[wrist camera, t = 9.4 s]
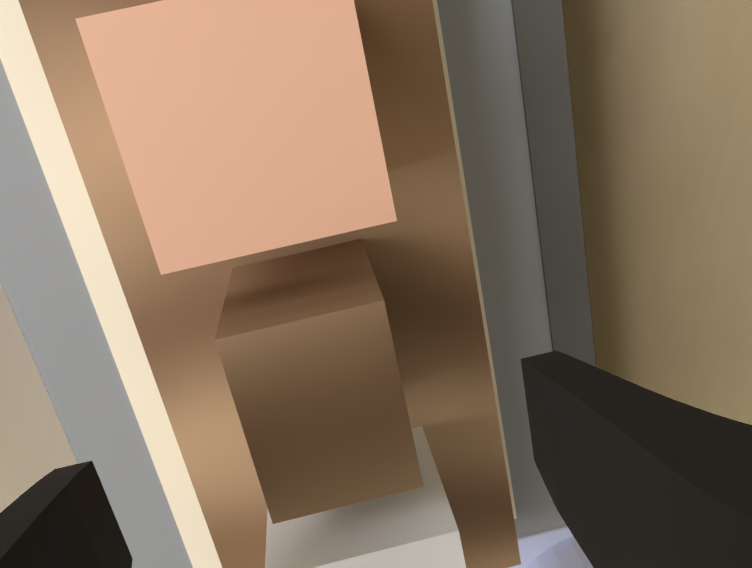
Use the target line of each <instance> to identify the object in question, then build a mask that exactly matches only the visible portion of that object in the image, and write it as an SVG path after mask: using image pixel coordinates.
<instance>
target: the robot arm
mask: <svg viewBox="0 0 752 568" xmlns="http://www.w3.org/2000/svg"><path fill="white" fill-rule="evenodd" d="M521 366H522V373H523V381H524V388H525V396H526V403H527V411H528V418H529V425H530V433H531V440H532V448H533V455H534V461H535V463H536V466H537V468H538V470H539V472H540V474H541V477H542V479H543V481H544V483H545V485H546V488H547V490H548V492H549V494H550V496H551V498H552V500H553V502H554V504H555V506H556V509H557V511H558V512H559V514H560V515H561V517H562V519H563V520H564V523H560V524H556V525H552V526H548V527H544V528H540V529H536V530H532V531H528V532H524V533H520V534H516V535H517V541H518V547H519V554H520V560H521V564H520V565H516V566H512V567H508V568H752V425H749V424H745V423H742V422H738V421H734V420H731V419H728V418H725V417H722V416H718V415H715V414H712V413H709V412H707V411H704V410H701V409H698V408H695V407H692V406H690V405H687V404H684V403H681V402H678V401H676V400H673V399H670V398H668V397H665V396H663V395H660V394H658V393H655V392H653V391H650V390H648V389H645V388H643V387H640V386H638V385H636V384H633V383H631V382H629V381H626V380H624V379H622V378H619V377H617V376H615V375H612V374H610V373H608V372H606V371H603V370H601V369H599V368H597V367H594V366H592V365H590V364H588V363H585V362H583V361H581V360H579V359H576V358H574V357H572V356H569V355H567V354H564V353H561V352H559V351H552V352H548V353H543V354H539V355H535V356H531V357H526V358H522V359H521ZM132 560H133V559H132V556H131V554H130V551H129V549H128V546H127V544H126V542H125V539H124V537H123V534H122V532H121V529H120V527H119V525H118V522H117V520H116V517H115V515H114V512H113V510H112V508H111V505H110V503H109V500H108V498H107V495H106V493H105V491H104V488H103V486H102V483H101V481H100V478H99V476H98V474H97V471H96V469H95V466H94V464H93V461H88V462H84V463H80V464H75V465H71V466H67V467H63V468H58V469H55V470H53V471H52V472H50V473H49V474H47V475H46V476H45V477H43V478H42V479H41V480H39V481H38V482H37V483H35V484H34V485H33V486H32V487H30V488H29V489H28V490H27V491H26V492H24V493H23V494H22V495H21V496H20V497H19V498H17V499H16V500H15V501H14V502H13V503H12V504H10V505H9V506H8V507H7V508H6V509H5V510H3V511H2V512H1V513H0V568H132Z"/></svg>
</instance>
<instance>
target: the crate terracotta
mask: <svg viewBox="0 0 752 568" xmlns="http://www.w3.org/2000/svg"><path fill="white" fill-rule="evenodd" d="M75 20H76V23H77V26H78V29H79V32H80V34H81V37H82V40H83V43H84V46H85V49H86V52H87V55H88V58H89V61H90V64H91V67H92V70H93V73H94V76H95V79H96V82H97V85H98V88H99V91H100V94H101V97H102V100H103V103H104V106H105V109H106V112H107V115H108V118H109V121H110V124H111V127H112V130H113V133H114V136H115V139H116V142H117V145H118V148H119V151H120V154H121V157H122V160H123V163H124V166H125V169H126V172H127V175H128V178H129V181H130V184H131V187H132V190H133V193H134V196H135V199H136V202H137V205H138V208H139V211H140V214H141V217H142V220H143V223H144V226H145V229H146V232H147V235H148V238H149V241H150V244H151V247H152V250H153V253H154V256H155V259H156V262H157V265H158V268H159V271H160V274H161V275H162V274H167V273H171V272H176V271H180V270H184V269H189V268H193V267H197V266H202V265H206V264H211V263H215V262H219V261H224V260H228V259H232V258H237V257H241V256H246V255H250V254H254V253H259V252H263V251H267V250H272V249H276V248H281V247H285V246H289V245H294V244H298V243H302V242H307V241H311V240H315V239H320V238H324V237H329V236H333V235H337V234H342V233H346V232H350V231H355V230H359V229H364V228H368V227H372V226H377V225H381V224H385V223H390V222H394V221H397V218H396V213H395V208H394V203H393V198H392V193H391V188H390V183H389V177H388V172H387V167H386V162H385V157H384V152H383V147H382V142H381V137H380V131H379V126H378V121H377V116H376V111H375V106H374V101H373V96H372V90H371V85H370V80H369V75H368V70H367V65H366V60H365V55H364V50H363V44H362V39H361V34H360V29H359V24H358V19H357V14H356V9H355V4H354V0H162V1H158V2H153V3H148V4H143V5H138V6H134V7H129V8H124V9H119V10H115V11H110V12H105V13H100V14H95V15H91V16H86V17H81V18H76V19H75Z"/></svg>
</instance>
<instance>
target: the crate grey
mask: <svg viewBox="0 0 752 568" xmlns="http://www.w3.org/2000/svg"><path fill="white" fill-rule="evenodd" d="M411 429H412V434H413V439H414V443H415V448H416V453H417V457H418V462H419V467H420V472H421V476H422V481H423V486H424V487H420V488H416V489H412V490H408V491H404V492H400V493H396V494H392V495H388V496H384V497H380V498H376V499H372V500H368V501H364V502H360V503H356V504H352V505H348V506H344V507H340V508H336V509H332V510H328V511H324V512H320V513H316V514H312V515H308V516H304V517H299V518H295V519H291V520H287V521H283V522H279V523H275V524H273V523H272V520H271V517H270V514H269V511H268V509H267V532H266V554H265V568H466V565H465V559H464V554H463V549H462V544H461V539H460V534H459V530H458V527H457V524H456V521H455V518H454V516H453V513H452V510H451V507H450V504H449V501H448V499H447V496H446V493H445V490H444V487H443V484H442V481H441V479H440V476H439V473H438V470H437V467H436V464H435V462H434V459H433V456H432V453H431V450H430V447H429V445H428V442H427V439H426V436H425V433H424V430H423V428H422V426H419V427H415V428H411Z"/></svg>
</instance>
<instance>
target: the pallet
mask: <svg viewBox="0 0 752 568" xmlns="http://www.w3.org/2000/svg"><path fill="white" fill-rule="evenodd" d="M18 1H19V4H20V6H21V9H22V12H23V15H24V17H25V20H26V23H27V26H28V29H29V31H30V34H31V37H32V40H33V42H34V45H35V48H36V51H37V54H38V56H39V59H40V62H41V65H42V67H43V70H44V73H45V76H46V79H47V81H48V84H49V87H50V90H51V92H52V95H53V98H54V101H55V104H56V106H57V109H58V112H59V115H60V118H61V120H62V123H63V126H64V129H65V131H66V134H67V137H68V140H69V143H70V145H71V148H72V151H73V154H74V156H75V159H76V162H77V165H78V168H79V170H80V173H81V176H82V179H83V181H84V184H85V187H86V190H87V193H88V195H89V198H90V201H91V204H92V206H93V209H94V212H95V215H96V218H97V220H98V223H99V226H100V229H101V232H102V234H103V237H104V240H105V243H106V245H107V248H108V251H109V254H110V257H111V259H112V262H113V265H114V268H115V270H116V273H117V276H118V279H119V282H120V284H121V287H122V290H123V293H124V295H125V298H126V301H127V304H128V307H129V309H130V312H131V315H132V318H133V320H134V323H135V326H136V329H137V332H138V334H139V337H140V340H141V343H142V345H143V348H144V351H145V354H146V357H147V359H148V362H149V365H150V368H151V371H152V373H153V376H154V379H155V382H156V384H157V387H158V390H159V393H160V396H161V398H162V401H163V404H164V407H165V409H166V412H167V415H168V418H169V421H170V423H171V426H172V429H173V432H174V434H175V437H176V440H177V443H178V446H179V448H180V451H181V454H182V457H183V459H184V462H185V465H186V468H187V471H188V473H189V476H190V479H191V482H192V485H193V487H194V490H195V493H196V496H197V498H198V501H199V504H200V507H201V510H202V512H203V515H204V518H205V521H206V523H207V526H208V529H209V532H210V535H211V537H212V540H213V543H214V546H215V548H216V551H217V554H218V557H219V560H220V562H221V565H222V568H265V554H266V532H267V509H268V511H269V514H270V517H271V520H272V523H273V524H275V523H279V522H283V521H287V520H291V519H295V518H299V517H304V516H308V515H312V514H316V513H320V512H324V511H328V510H332V509H336V508H340V507H344V506H348V505H352V504H356V503H360V502H364V501H368V500H372V499H376V498H380V497H384V496H388V495H392V494H396V493H400V492H404V491H408V490H412V489H416V488H420V487H424V486H423V481H422V476H421V472H420V467H419V462H418V457H417V453H416V448H415V443H414V439H413V434H412V429H411V428H415V427H419V426H422V428H423V430H424V433H425V436H426V439H427V442H428V445H429V447H430V450H431V453H432V456H433V459H434V462H435V464H436V467H437V470H438V473H439V476H440V479H441V481H442V484H443V487H444V490H445V493H446V496H447V499H448V501H449V504H450V507H451V510H452V513H453V516H454V518H455V521H456V524H457V527H458V530H459V534H460V539H461V544H462V549H463V554H464V559H465V565H466V568H508V567H512V566H516V565H520V564H521V560H520V554H519V547H518V541H517V535H516V528H515V522H514V516H513V509H512V503H511V496H510V490H509V484H508V477H507V471H506V465H505V458H504V452H503V446H502V439H501V433H500V427H499V420H498V414H497V408H496V401H495V395H494V389H493V382H492V376H491V369H490V363H489V357H488V350H487V344H486V338H485V331H484V325H483V319H482V312H481V306H480V300H479V293H478V287H477V281H476V274H475V268H474V261H473V255H472V249H471V242H470V236H469V230H468V223H467V217H466V211H465V204H464V198H463V192H462V185H461V179H460V173H459V166H458V160H457V154H456V147H455V141H454V134H453V128H452V122H451V115H450V109H449V103H448V96H447V90H446V84H445V77H444V71H443V65H442V58H441V52H440V46H439V39H438V33H437V27H436V20H435V14H434V7H433V1H432V0H354V4H355V9H356V14H357V19H358V24H359V29H360V34H361V39H362V44H363V50H364V55H365V60H366V65H367V70H368V75H369V80H370V85H371V90H372V96H373V101H374V106H375V111H376V116H377V121H378V126H379V131H380V137H381V142H382V147H383V152H384V157H385V162H386V167H387V172H388V177H389V183H390V188H391V193H392V198H393V203H394V208H395V213H396V218H397V221H394V222H390V223H385V224H381V225H377V226H372V227H368V228H364V229H359V230H355V231H350V232H346V233H342V234H337V235H333V236H329V237H324V238H320V239H315V240H311V241H307V242H302V243H298V244H294V245H289V246H285V247H281V248H276V249H272V250H267V251H263V252H259V253H254V254H250V255H246V256H241V257H237V258H232V259H228V260H224V261H219V262H215V263H211V264H206V265H202V266H197V267H193V268H189V269H184V270H180V271H176V272H171V273H167V274H162V275H161V274H160V271H159V268H158V265H157V262H156V259H155V256H154V253H153V250H152V247H151V244H150V241H149V238H148V235H147V232H146V229H145V226H144V223H143V220H142V217H141V214H140V211H139V208H138V205H137V202H136V199H135V196H134V193H133V190H132V187H131V184H130V181H129V178H128V175H127V172H126V169H125V166H124V163H123V160H122V157H121V154H120V151H119V148H118V145H117V142H116V139H115V136H114V133H113V130H112V127H111V124H110V121H109V118H108V115H107V112H106V109H105V106H104V103H103V100H102V97H101V94H100V91H99V88H98V85H97V82H96V79H95V76H94V73H93V70H92V67H91V64H90V61H89V58H88V55H87V52H86V49H85V46H84V43H83V40H82V37H81V34H80V32H79V29H78V26H77V23H76V20H75V19H76V18H81V17H86V16H91V15H95V14H100V13H105V12H110V11H115V10H119V9H124V8H129V7H134V6H138V5H143V4H148V3H153V2H158V1H162V0H18Z"/></svg>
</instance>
